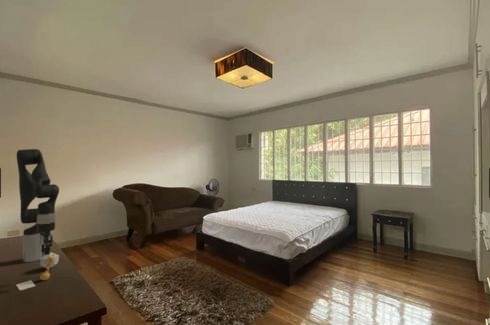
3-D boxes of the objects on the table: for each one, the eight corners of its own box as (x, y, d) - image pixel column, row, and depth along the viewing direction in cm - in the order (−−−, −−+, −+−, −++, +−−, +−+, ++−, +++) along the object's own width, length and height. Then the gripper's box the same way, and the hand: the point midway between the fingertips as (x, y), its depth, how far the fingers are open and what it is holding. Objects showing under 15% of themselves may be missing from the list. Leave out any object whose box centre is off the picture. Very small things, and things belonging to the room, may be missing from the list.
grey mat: (16, 285, 121) (16, 284, 121) (31, 280, 126) (31, 280, 126) (19, 290, 115) (19, 290, 115) (35, 286, 120) (35, 285, 120)
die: (48, 272, 136) (48, 254, 136) (35, 271, 137) (36, 253, 138) (62, 266, 144) (62, 249, 144) (50, 265, 146) (50, 248, 146)
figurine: (37, 279, 127) (38, 256, 128) (51, 275, 132) (52, 253, 133) (42, 283, 123) (43, 260, 123) (56, 279, 127) (57, 256, 128)
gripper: (33, 221, 129) (33, 252, 128) (40, 225, 120) (40, 258, 120) (51, 218, 135) (50, 248, 134) (58, 222, 126) (58, 254, 126)
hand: (45, 253), depth 127 cm, fingers open, 5 cm apart
